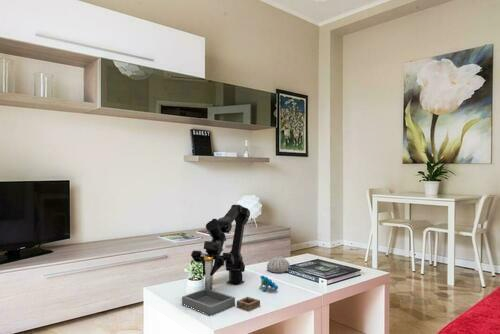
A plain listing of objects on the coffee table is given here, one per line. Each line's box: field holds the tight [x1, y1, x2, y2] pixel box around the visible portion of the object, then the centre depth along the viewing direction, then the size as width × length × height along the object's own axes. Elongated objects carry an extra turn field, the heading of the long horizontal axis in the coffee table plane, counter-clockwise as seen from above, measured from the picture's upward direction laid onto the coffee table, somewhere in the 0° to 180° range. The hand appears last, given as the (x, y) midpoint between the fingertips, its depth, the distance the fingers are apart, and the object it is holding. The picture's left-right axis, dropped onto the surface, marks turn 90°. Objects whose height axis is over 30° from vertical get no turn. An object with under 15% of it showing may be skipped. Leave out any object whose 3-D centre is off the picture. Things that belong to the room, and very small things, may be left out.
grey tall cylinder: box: [204, 256, 213, 291], centre depth 152 cm, size 4×4×14 cm
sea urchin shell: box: [266, 255, 291, 274], centre depth 204 cm, size 13×14×8 cm
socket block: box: [236, 296, 261, 312], centre depth 150 cm, size 7×7×2 cm
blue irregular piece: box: [259, 275, 279, 292], centre depth 170 cm, size 11×6×10 cm
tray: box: [181, 288, 236, 316], centre depth 152 cm, size 18×14×4 cm
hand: (207, 275), depth 150 cm, fingers closed on grey tall cylinder, 3 cm apart
